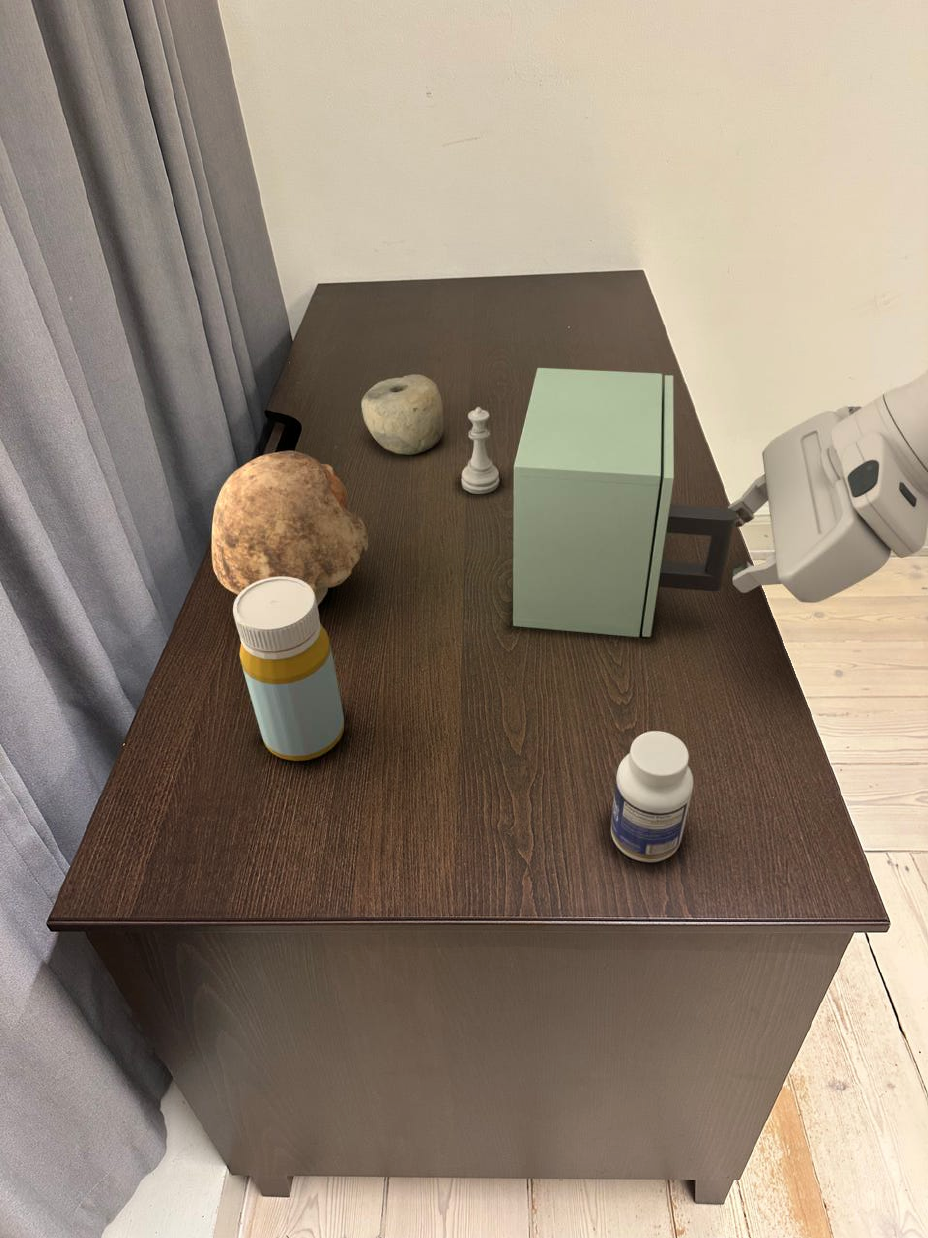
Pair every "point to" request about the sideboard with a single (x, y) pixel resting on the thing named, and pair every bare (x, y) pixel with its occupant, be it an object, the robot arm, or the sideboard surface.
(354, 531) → the tan rounded lump
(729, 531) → the fridge door
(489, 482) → the chess piece
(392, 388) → the stone
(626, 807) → the pill bottle
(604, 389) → the mini fridge
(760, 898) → the sideboard surface
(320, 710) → the bottle
